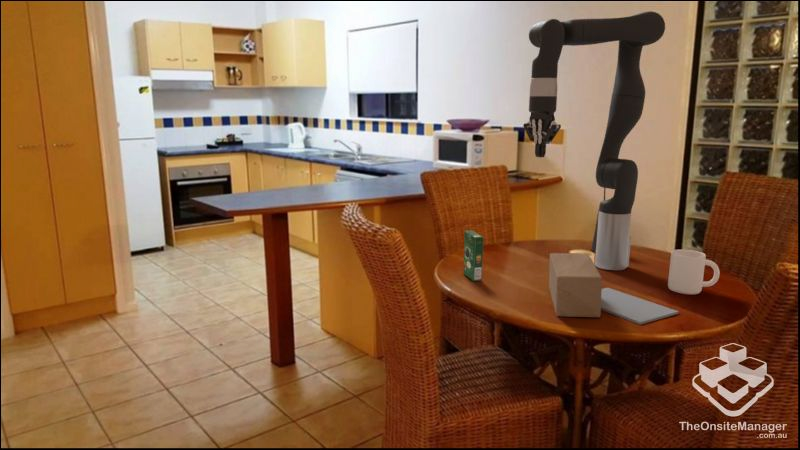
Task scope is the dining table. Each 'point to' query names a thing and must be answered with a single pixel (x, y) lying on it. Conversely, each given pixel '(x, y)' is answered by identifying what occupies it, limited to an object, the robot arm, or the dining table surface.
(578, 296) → the wooden block
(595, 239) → the butter churn
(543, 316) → the dining table surface
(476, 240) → the coffee box
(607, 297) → the slate mat
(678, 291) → the mug
